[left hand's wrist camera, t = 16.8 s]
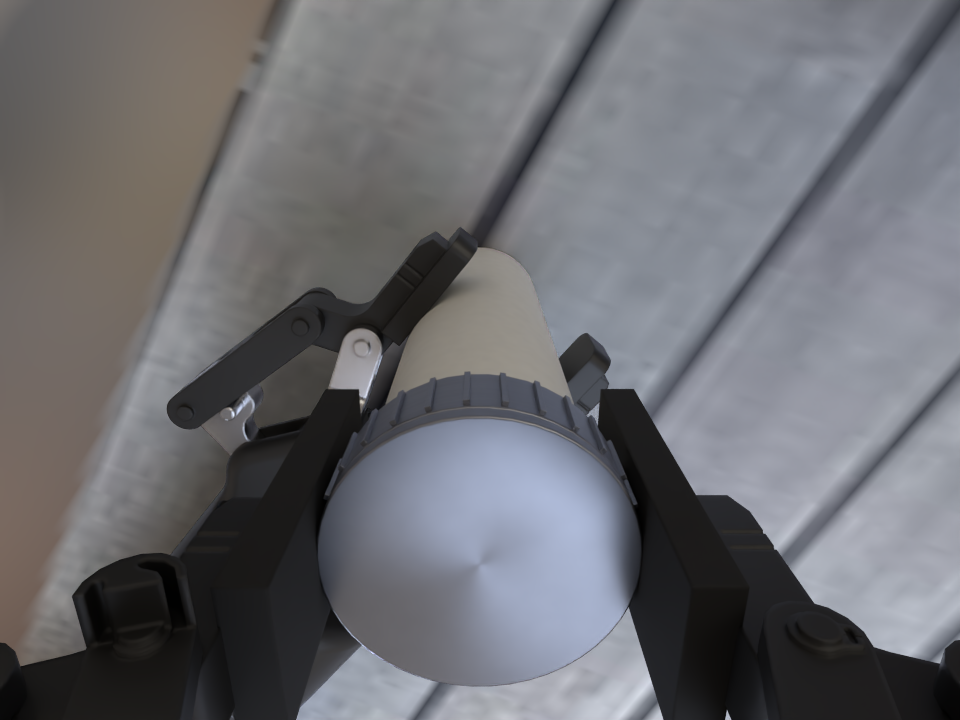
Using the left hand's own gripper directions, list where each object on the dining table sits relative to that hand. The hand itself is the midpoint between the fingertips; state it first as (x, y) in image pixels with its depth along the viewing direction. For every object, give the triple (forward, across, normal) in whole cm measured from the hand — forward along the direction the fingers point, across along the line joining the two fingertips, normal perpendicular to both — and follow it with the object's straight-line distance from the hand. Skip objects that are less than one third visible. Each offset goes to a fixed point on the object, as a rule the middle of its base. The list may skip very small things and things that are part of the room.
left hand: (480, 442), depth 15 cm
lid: (-4, 0, 0) cm, 4 cm away
